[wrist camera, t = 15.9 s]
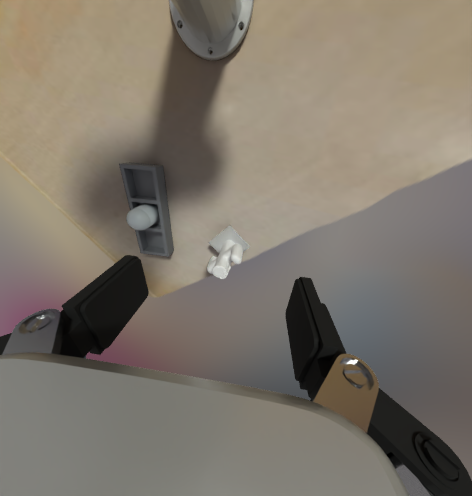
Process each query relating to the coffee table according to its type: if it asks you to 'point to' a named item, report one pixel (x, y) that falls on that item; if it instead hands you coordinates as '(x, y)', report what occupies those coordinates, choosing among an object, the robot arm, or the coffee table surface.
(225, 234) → the figurine
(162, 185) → the grey compartment tray
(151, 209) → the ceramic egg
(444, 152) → the coffee table surface
